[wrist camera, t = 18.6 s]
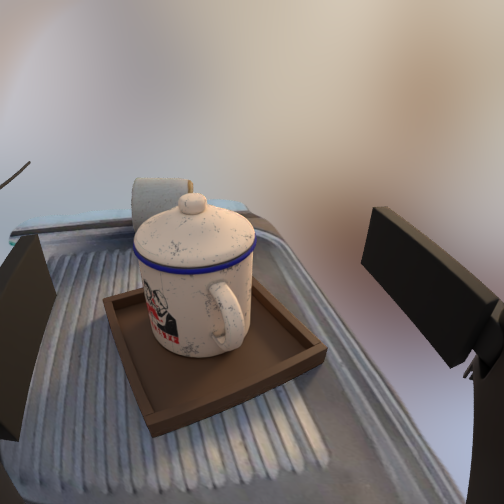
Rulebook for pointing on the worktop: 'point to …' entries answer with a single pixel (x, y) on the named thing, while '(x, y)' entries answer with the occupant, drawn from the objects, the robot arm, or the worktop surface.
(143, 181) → the ceramic mug
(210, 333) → the teacup with lid
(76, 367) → the worktop surface
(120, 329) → the rectangular tray
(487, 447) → the robot arm
